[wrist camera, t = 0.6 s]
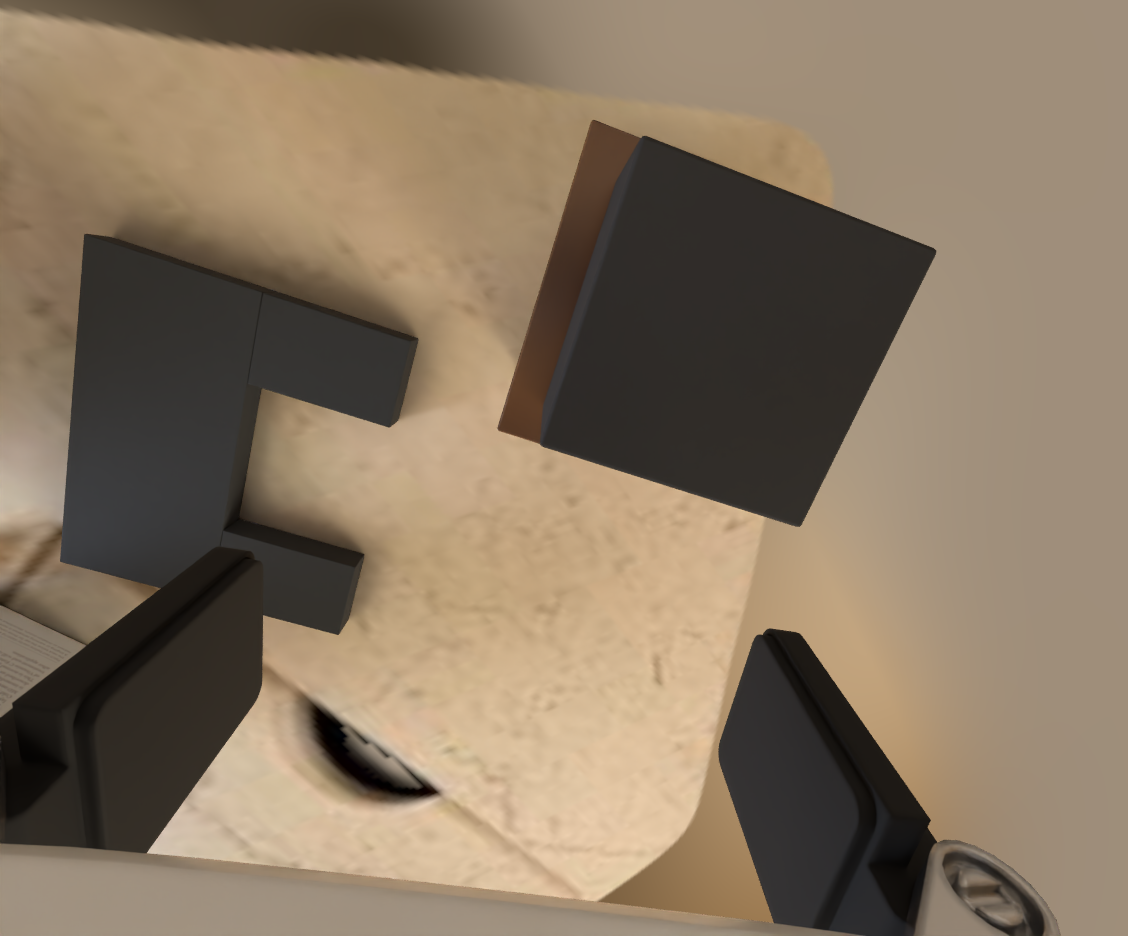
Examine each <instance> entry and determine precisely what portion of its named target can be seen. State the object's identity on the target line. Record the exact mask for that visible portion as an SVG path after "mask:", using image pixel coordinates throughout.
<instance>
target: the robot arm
mask: <svg viewBox="0 0 1128 936" xmlns="http://www.w3.org/2000/svg"><path fill="white" fill-rule="evenodd" d="M262 655H263V564H262V562H261V561H259V560H255V557H254V554H253V553H252V552H251V551H247V550H240V549H233V548H227V547H215V548H213V549H212V550H210V551H209V552H208V553H207V554H205V555H204V556H203V557H201V558H200V559H199V560H197V561H196V562H195V563H193V564H192V565H191V566H190V567H188V568H187V569H186V570H184V571H183V572H182V573H180V574H179V575H178V576H177V577H175V578H174V579H173V580H171V581H170V582H169V583H167V584H166V585H165V586H164V587H162V588H161V589H160V590H158V591H157V592H156V593H154V594H153V595H152V596H151V597H149V598H148V599H147V600H145V601H144V602H143V603H141V604H140V605H139V606H138V607H136V608H135V609H134V610H132V611H131V612H130V613H128V614H127V615H126V616H125V617H123V618H122V619H121V620H119V621H118V622H117V623H115V624H114V625H113V626H112V627H110V628H109V629H108V630H106V631H105V632H104V633H102V634H101V635H100V636H98V637H97V638H96V639H95V640H93V641H92V642H91V643H89V644H88V645H87V646H85V647H84V648H83V649H82V650H80V651H79V652H78V653H76V654H75V655H74V656H72V657H71V658H70V659H69V660H67V661H66V662H65V663H63V664H62V665H61V666H59V667H58V668H57V669H56V670H54V671H53V672H52V673H50V674H49V675H48V676H46V677H45V678H44V679H43V680H41V681H40V682H39V683H37V684H36V685H35V686H33V687H32V688H31V689H30V690H28V691H27V692H26V693H24V694H23V695H22V696H20V697H19V698H18V699H16V700H15V701H14V702H13V703H12V707H13V708H12V709H11V710H9V711H8V712H7V713H5V714H4V715H3V716H2V717H0V936H1061V934H1060V931H1059V927H1058V924H1057V920H1056V919H1055V917H1054V915H1053V913H1052V912H1051V910H1050V909H1049V907H1048V905H1047V903H1046V902H1045V901H1044V899H1043V898H1042V897H1041V896H1040V895H1039V894H1038V892H1037V891H1036V890H1035V889H1034V888H1033V887H1032V886H1031V884H1030V883H1028V882H1027V881H1026V880H1025V879H1024V878H1023V877H1022V876H1021V875H1019V874H1018V873H1017V872H1016V871H1015V870H1014V869H1013V868H1011V867H1010V866H1008V865H1007V864H1005V863H1004V862H1003V861H1001V860H1000V859H998V858H997V857H995V856H994V855H992V854H990V853H988V852H986V851H984V850H982V849H980V848H978V847H976V846H974V845H971V844H968V843H965V842H961V841H957V840H943V841H940V842H938V843H937V841H936V840H935V838H934V837H933V835H932V834H931V832H930V831H929V829H928V828H927V827H928V825H929V823H930V821H931V820H930V818H929V817H928V816H927V814H926V813H925V811H924V810H923V808H922V807H921V806H920V804H919V803H918V801H917V800H916V798H915V797H914V796H913V794H912V793H911V791H910V790H909V789H908V787H907V785H906V784H905V783H904V781H903V780H902V778H901V777H900V775H899V774H898V773H897V771H896V770H895V768H894V767H893V765H892V764H891V763H890V761H889V760H888V758H887V757H886V755H885V754H884V753H883V751H882V750H881V748H880V747H879V745H878V744H877V743H876V741H875V740H874V738H873V737H872V735H871V734H870V733H869V731H868V730H867V728H866V727H865V725H864V724H863V722H862V721H861V720H860V718H859V717H858V715H857V714H856V712H855V711H854V710H853V708H852V707H851V705H850V704H849V702H848V701H847V700H846V698H845V697H844V695H843V694H842V693H841V691H840V690H839V688H838V687H837V685H836V684H835V682H834V681H833V680H832V678H831V677H830V675H829V674H828V672H827V671H826V670H825V668H824V667H823V665H822V664H821V662H820V661H819V660H818V658H817V657H816V655H815V654H814V652H813V651H812V649H811V648H810V647H809V645H808V644H807V642H806V641H805V639H804V638H803V637H802V636H801V635H800V634H799V633H796V632H791V631H784V630H776V629H767V630H766V631H765V632H764V633H763V635H757V636H756V637H755V639H754V641H753V643H752V646H751V649H750V652H749V655H748V658H747V662H746V664H745V667H744V671H743V673H742V676H741V680H740V682H739V685H738V688H737V692H736V695H735V698H734V701H733V704H732V707H731V710H730V713H729V716H728V719H727V722H726V725H725V728H724V731H723V734H722V737H721V740H720V743H719V762H720V766H721V769H722V772H723V775H724V778H725V780H726V783H727V786H728V789H729V792H730V795H731V798H732V801H733V804H734V807H735V810H736V813H737V815H738V819H739V821H740V824H741V827H742V830H743V833H744V836H745V839H746V842H747V845H748V848H749V851H750V854H751V857H752V860H753V863H754V865H755V869H756V872H757V874H758V877H759V880H760V883H761V886H762V889H763V892H764V895H765V898H766V901H767V904H768V906H769V910H770V912H771V916H772V918H773V922H774V923H769V922H762V921H754V920H745V919H737V918H728V917H719V916H711V915H703V914H695V913H687V912H677V911H669V910H661V909H653V908H645V907H636V906H628V905H619V904H611V903H602V902H594V901H586V900H577V899H568V898H559V897H550V896H542V895H533V894H524V893H515V892H506V891H498V890H489V889H480V888H471V887H462V886H453V885H444V884H435V883H426V882H417V881H408V880H399V879H390V878H381V877H372V876H362V875H353V874H344V873H334V872H325V871H315V870H306V869H296V868H287V867H278V866H268V865H259V864H249V863H240V862H231V861H221V860H212V859H202V858H192V857H181V856H170V855H158V854H147V852H148V850H149V849H150V847H151V846H152V845H153V843H154V842H155V840H156V839H157V838H158V836H159V835H160V834H161V832H162V831H163V829H164V828H165V827H166V825H167V824H168V822H169V821H170V820H171V818H172V817H173V816H174V814H175V813H176V811H177V810H178V809H179V807H180V806H181V804H182V803H183V802H184V800H185V799H186V798H187V796H188V795H189V793H190V792H191V791H192V789H193V788H194V786H195V785H196V784H197V782H198V781H199V779H200V778H201V777H202V775H203V774H204V773H205V771H206V770H207V768H208V767H209V766H210V764H211V763H212V761H213V760H214V759H215V757H216V756H217V755H218V753H219V752H220V750H221V749H222V748H223V746H224V745H225V743H226V742H227V741H228V739H229V738H230V737H231V735H232V734H233V732H234V731H235V730H236V728H237V727H238V725H239V724H240V723H241V721H242V720H243V719H244V717H245V716H246V714H247V713H248V712H249V710H250V709H251V707H252V706H253V705H254V703H255V701H256V700H257V698H258V696H259V693H260V690H261V686H262Z"/></svg>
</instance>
